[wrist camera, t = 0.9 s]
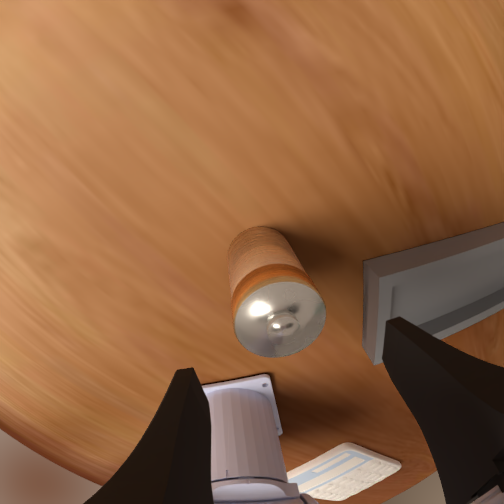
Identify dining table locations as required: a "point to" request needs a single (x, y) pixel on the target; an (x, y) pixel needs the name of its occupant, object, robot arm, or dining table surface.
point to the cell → (272, 295)
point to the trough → (434, 286)
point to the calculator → (342, 472)
